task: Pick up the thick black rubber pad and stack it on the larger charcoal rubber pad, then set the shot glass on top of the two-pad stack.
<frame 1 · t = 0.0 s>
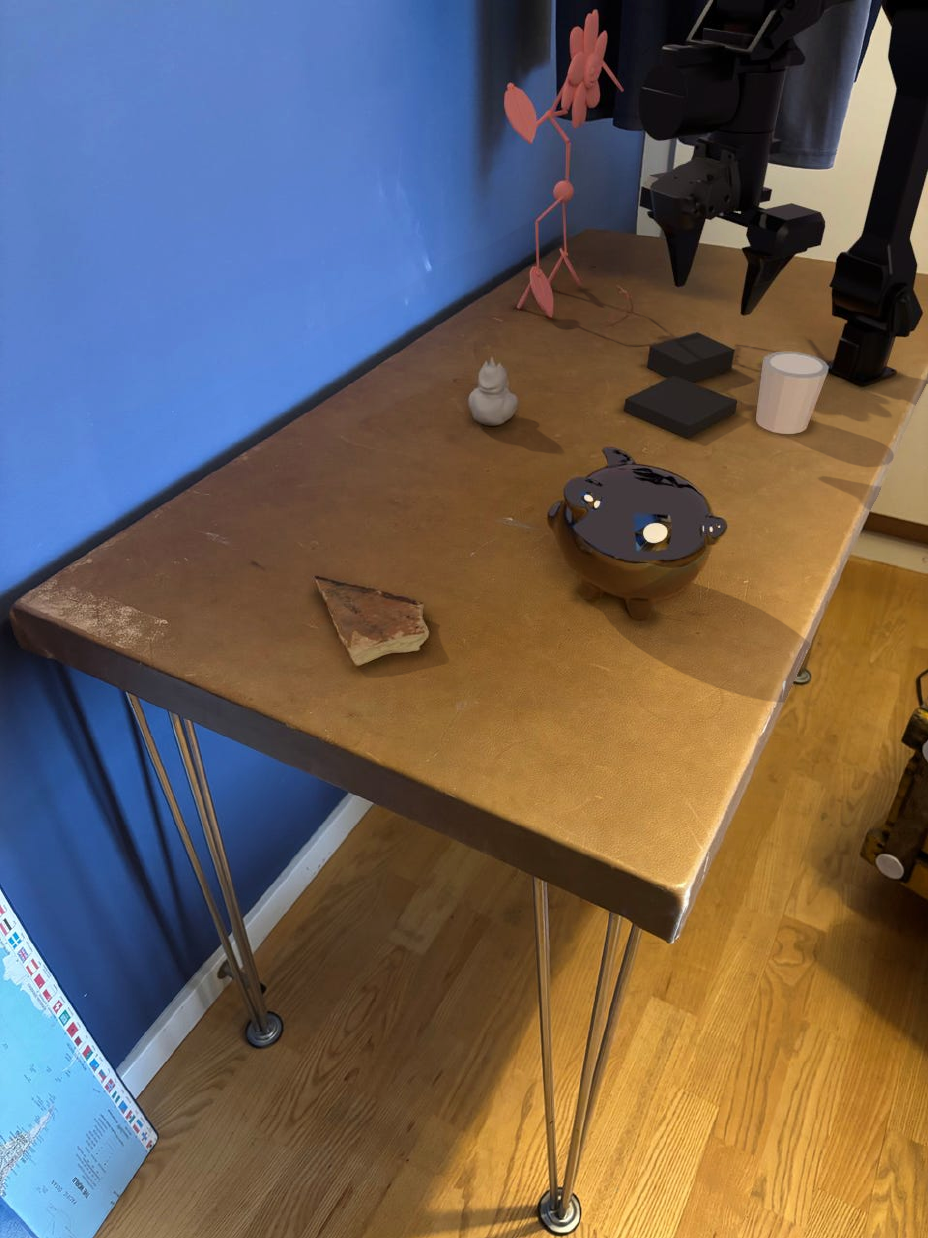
hand: (711, 299, 91), 15 cm above the table, tool pointing down, fingers open, 9 cm apart
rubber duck: (493, 421, 103), on the table
black pad: (688, 369, 113), on the table
figurine: (574, 307, 129), on the table
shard: (360, 633, 75), on the table
piggy bank: (623, 590, 79), on the table
base pad: (679, 412, 104), on the table
shot glass: (781, 423, 103), on the table
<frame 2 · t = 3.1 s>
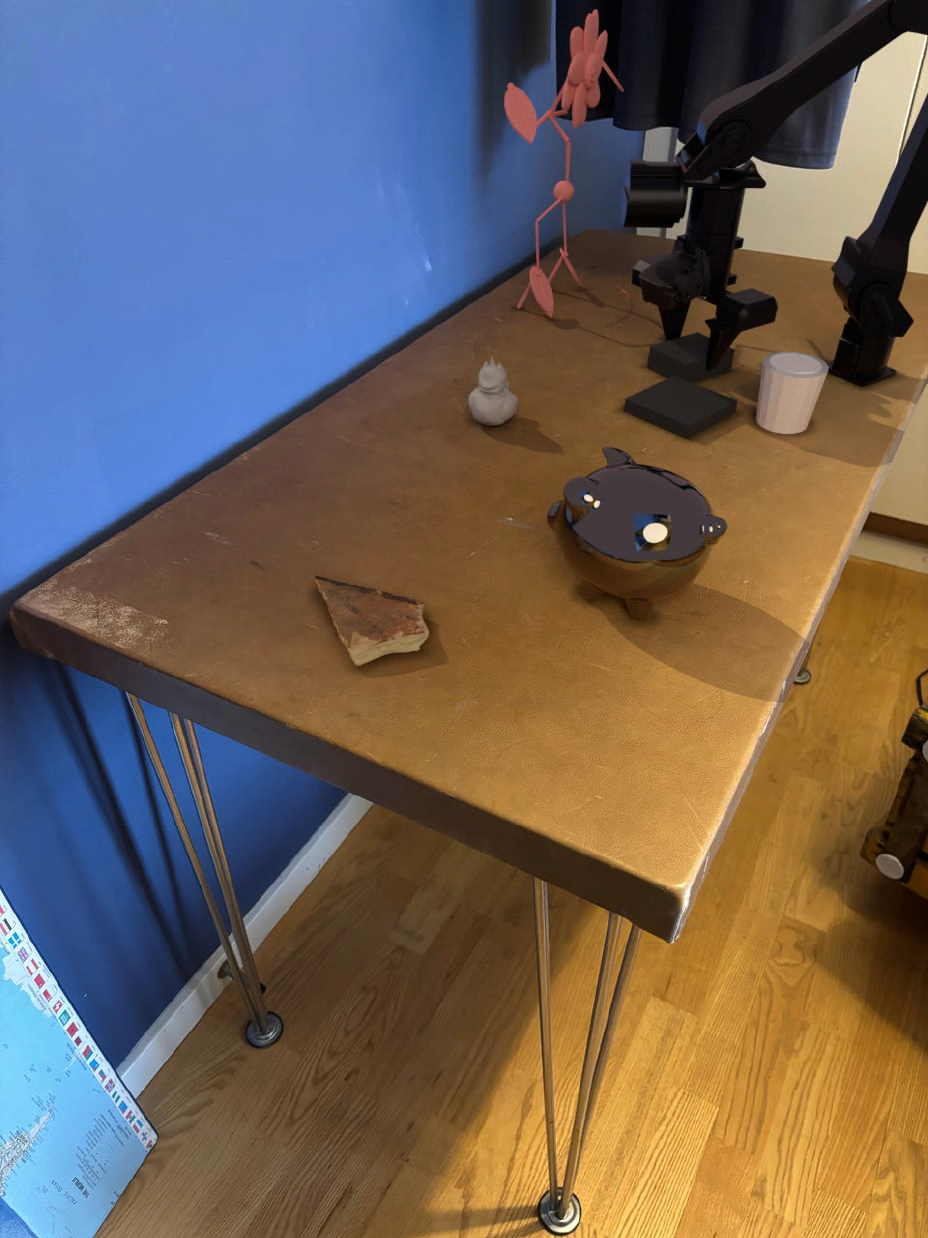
hand: (690, 359, 112), 1 cm above the table, tool pointing down, fingers closed on black pad, 6 cm apart
black pad: (688, 369, 113), on the table, touching gripper
everything else where it was.
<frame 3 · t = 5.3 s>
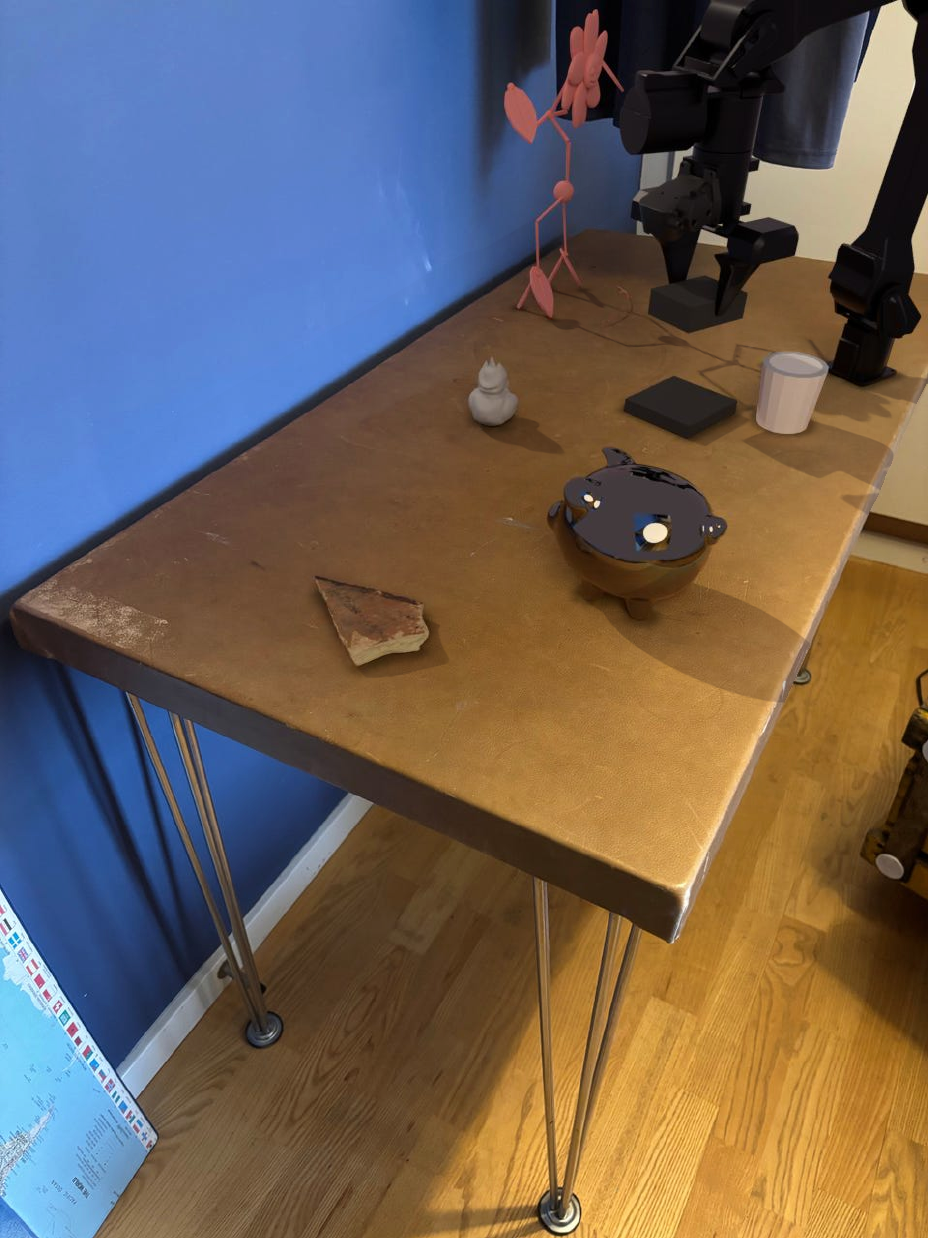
hand: (696, 304, 99), 11 cm above the table, tool pointing down, fingers closed on black pad, 6 cm apart
black pad: (694, 316, 100), point 10 cm above the table, touching gripper
everything else where it was.
when the fingers open (3 cm above the table, at t = 8.0 s): black pad stays where it is, resting on base pad.
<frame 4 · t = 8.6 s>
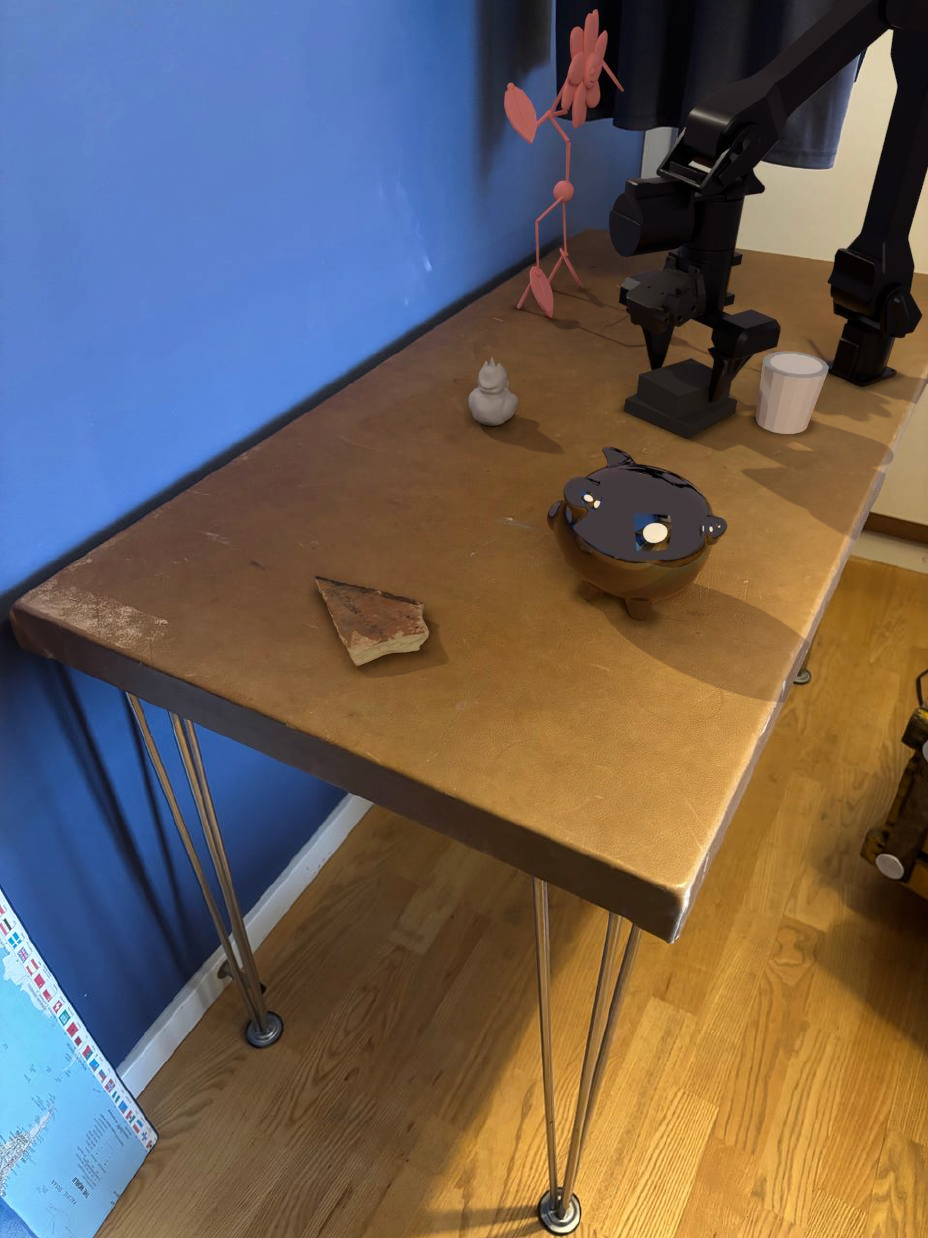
hand: (683, 386, 102), 3 cm above the table, tool pointing down, fingers open, 9 cm apart
black pad: (681, 399, 103), point 2 cm above the table, touching base pad
base pad: (679, 412, 104), on the table, touching black pad
everything else where it was.
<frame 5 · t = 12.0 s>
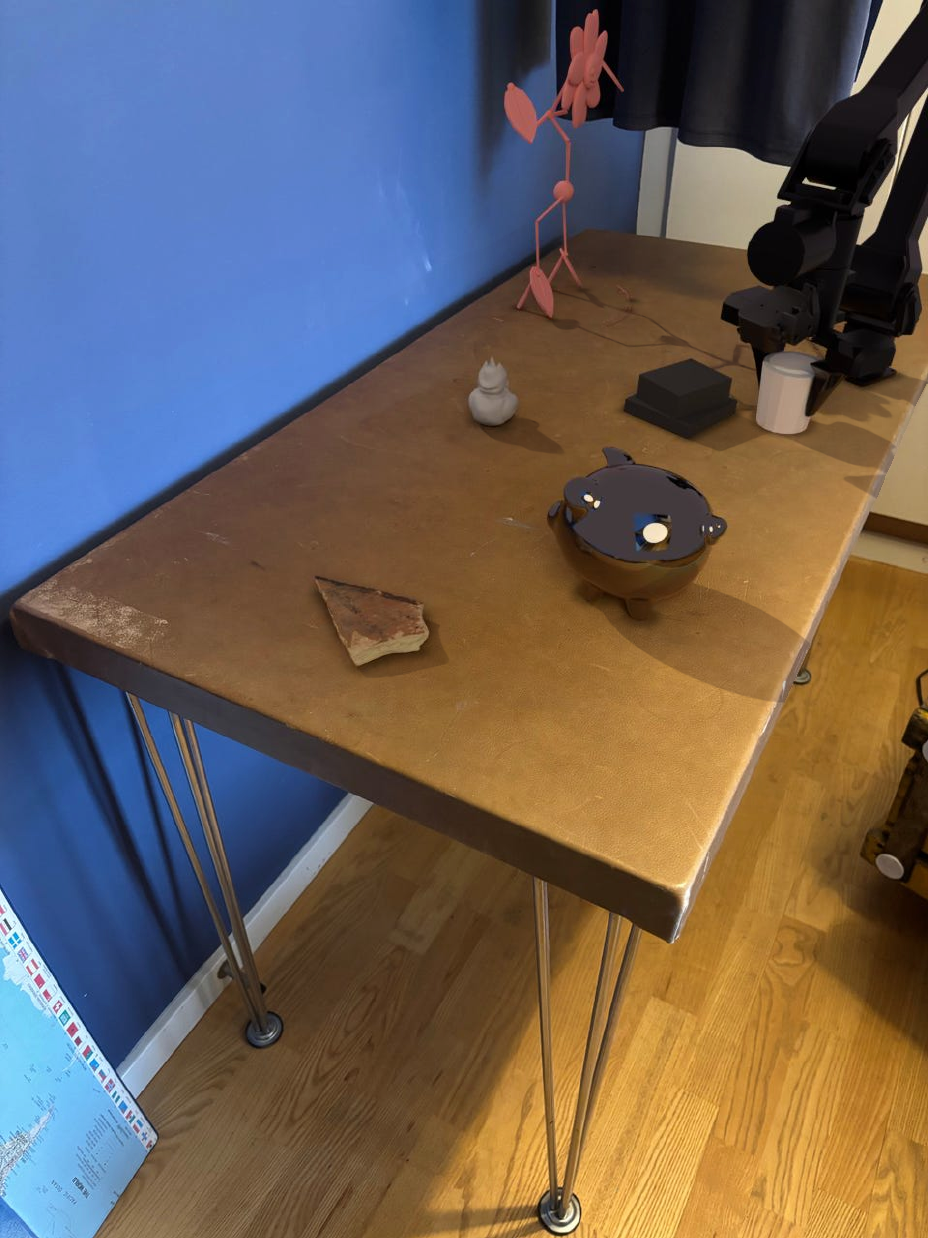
hand: (785, 403, 101), 2 cm above the table, tool pointing down, fingers closed on shot glass, 6 cm apart
shot glass: (781, 423, 103), on the table, touching gripper
everything else where it was.
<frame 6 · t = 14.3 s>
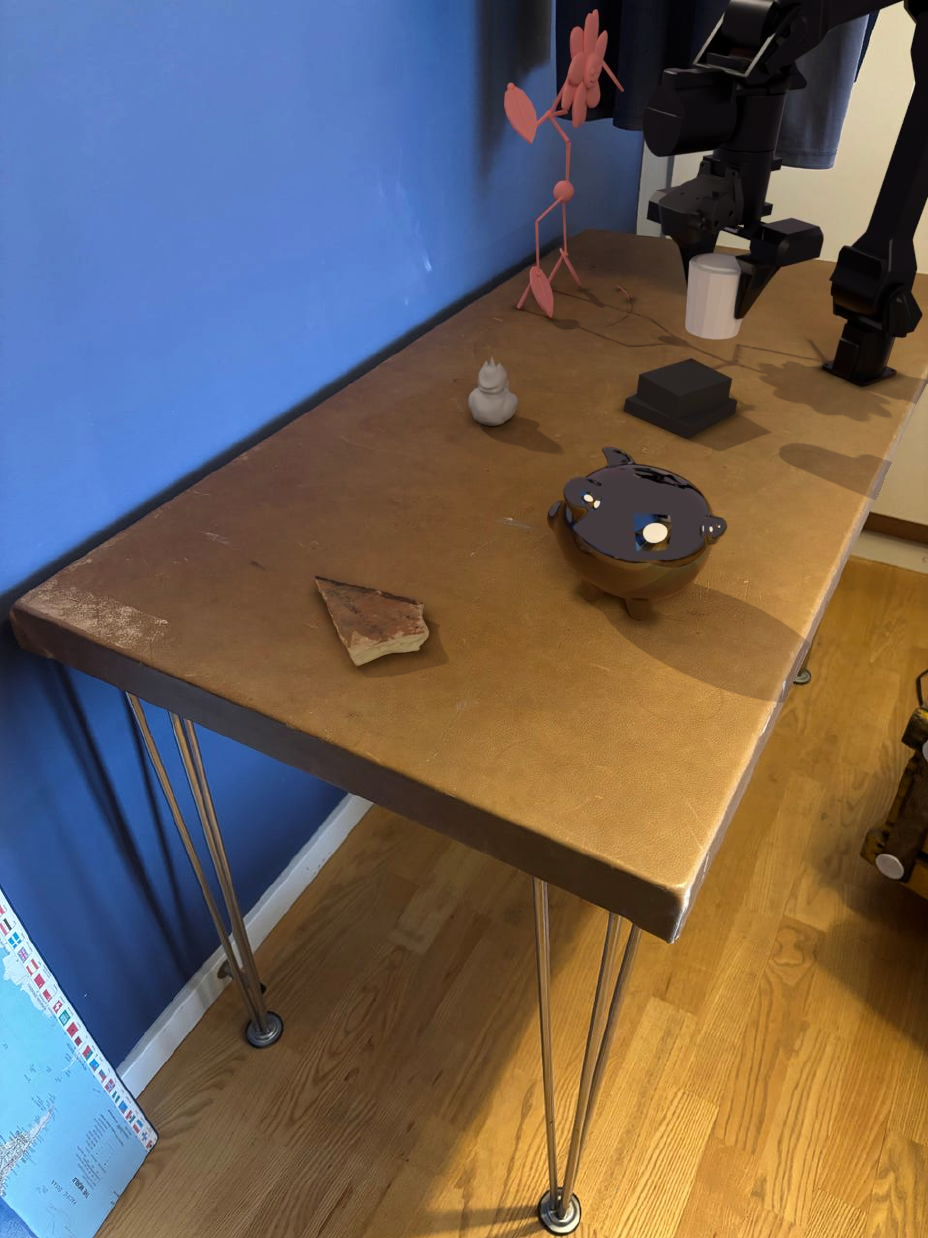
hand: (715, 308, 96), 12 cm above the table, tool pointing down, fingers closed on shot glass, 6 cm apart
shot glass: (711, 330, 98), point 10 cm above the table, touching gripper
everything else where it was.
when the fingers open (7 cm above the table, at t = 16.6 s): shot glass stays where it is, resting on black pad.
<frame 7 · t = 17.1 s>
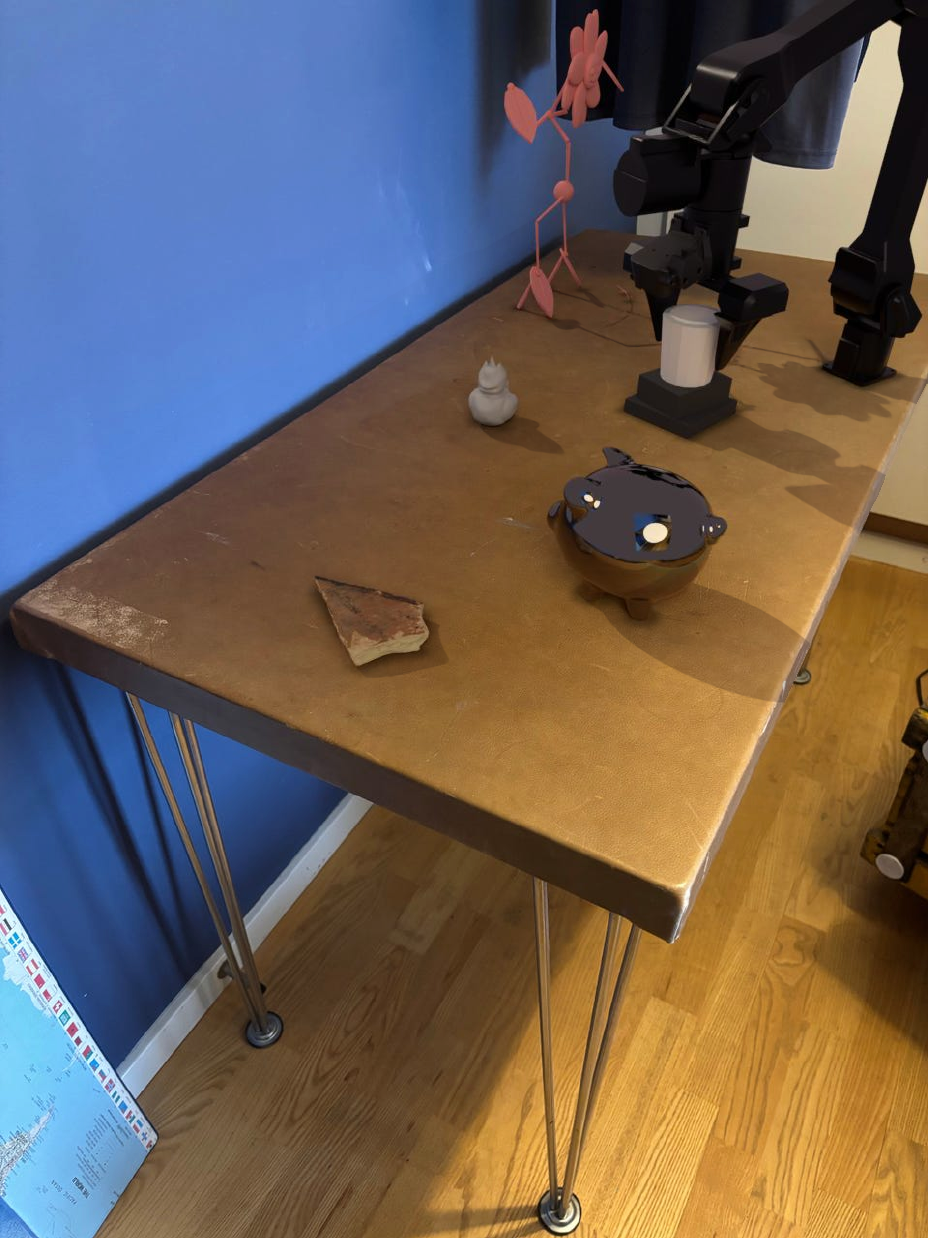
hand: (688, 354, 100), 7 cm above the table, tool pointing down, fingers open, 9 cm apart
black pad: (681, 399, 103), point 2 cm above the table, touching base pad, shot glass
shot glass: (685, 377, 102), point 4 cm above the table, touching black pad
everything else where it was.
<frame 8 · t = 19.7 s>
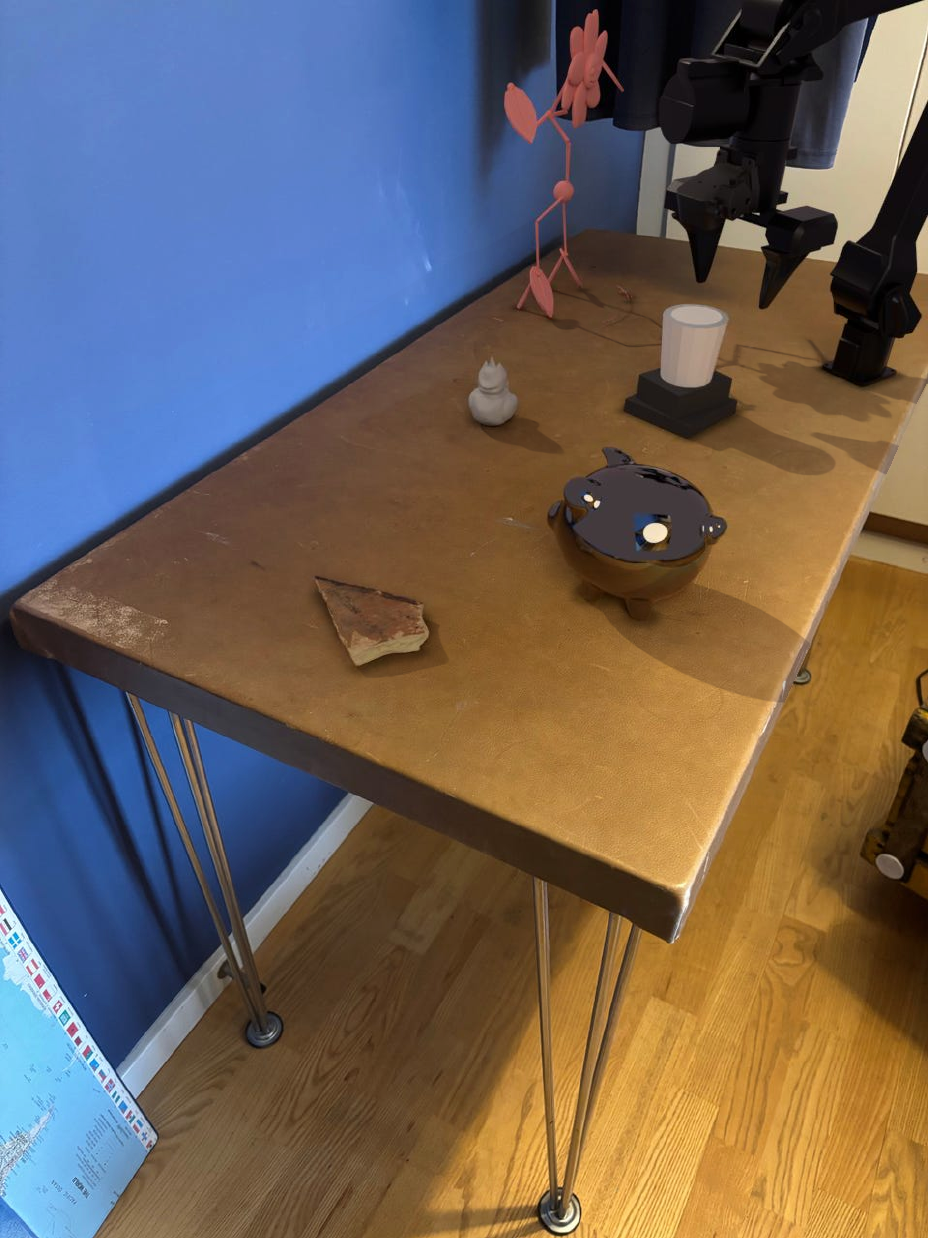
hand: (731, 295, 98), 12 cm above the table, tool pointing down, fingers open, 9 cm apart
nothing on the table moved.
at the end: black pad 0.0 cm off-centre on the base pad, point 1.6 cm above the base pad's base; shot glass 0.1 cm off-centre on the base pad, point 4.2 cm above the base pad's base; shot glass tilted 0° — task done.
